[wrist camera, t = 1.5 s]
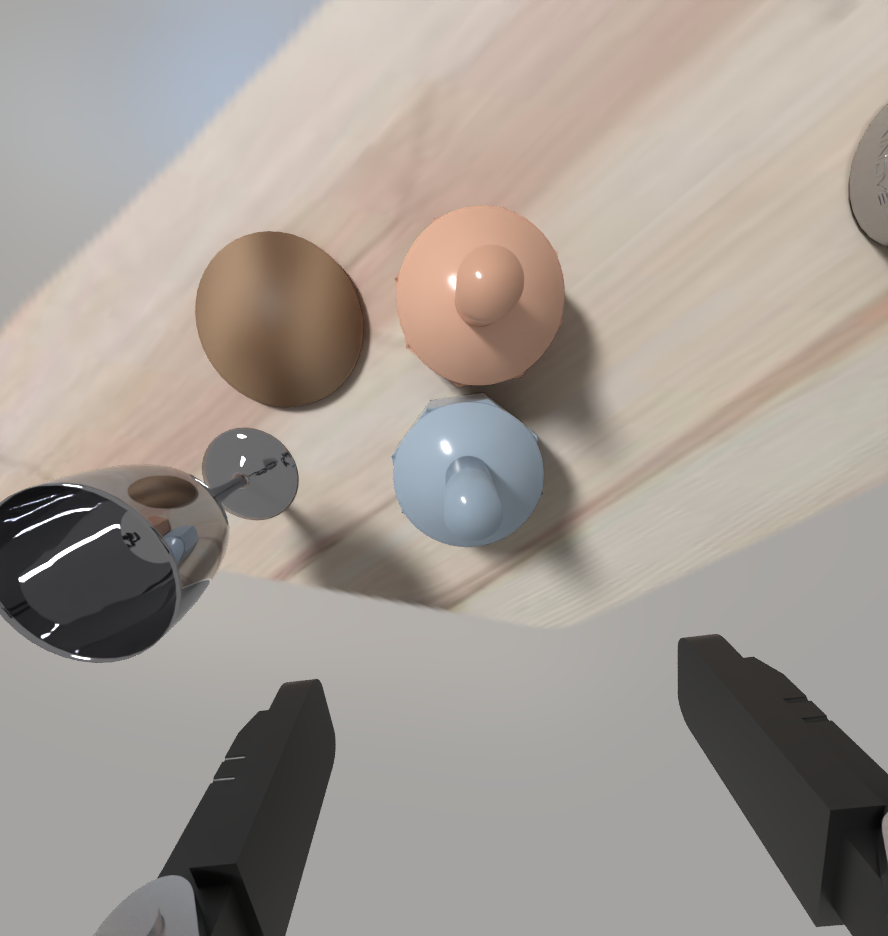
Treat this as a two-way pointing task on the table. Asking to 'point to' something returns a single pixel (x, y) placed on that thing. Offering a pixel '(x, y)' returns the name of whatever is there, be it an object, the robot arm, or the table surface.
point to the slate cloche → (467, 471)
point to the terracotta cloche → (480, 295)
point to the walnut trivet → (279, 319)
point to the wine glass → (130, 545)
